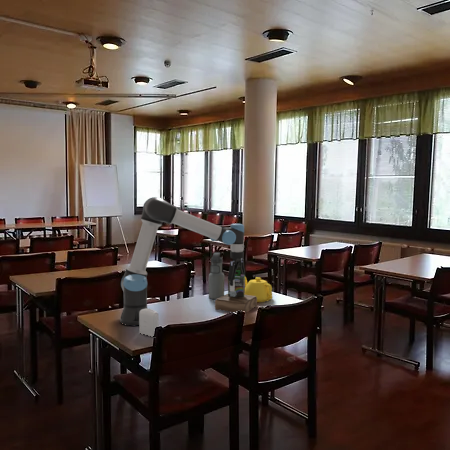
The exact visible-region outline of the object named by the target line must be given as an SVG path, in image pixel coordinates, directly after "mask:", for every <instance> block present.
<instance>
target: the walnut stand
mask: <svg viewBox="0 0 450 450" xmlns="http://www.w3.org/2000/svg"><path fill="white" fill-rule="evenodd" d="M214 300H215V301H214V310H217V311H222V312H224V311H225V312H229V313H235V312H236V311H238V310H242V311H245V312H246V313H248V312H249V310H250V309H251V310H253V309H254V307H255V308H257V307H258V302H257V297H256V296H251V295H244V297H228V293H226V294H224V296H221V297H219V298H217V299H214ZM256 306H257V307H256ZM252 308H253V309H252ZM251 310H250V311H251ZM247 311H248V312H247Z"/></svg>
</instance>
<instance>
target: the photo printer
mask: <svg viewBox="0 0 450 450" xmlns="http://www.w3.org/2000/svg"><path fill="white" fill-rule="evenodd" d="M159 321H160V319H159V313H158V311H156V310H154V309H152V308H148V307H147V308H146V309H142V310H140V312H139V326H138V327H139V328H138V329H139V331H138V333H139V334H140V333H141V334H140V335H143V334H145V335H144V336H146V335H148V336H147V337H150V336H151V338H154V337H153V336H154V331H155V328H156V327H160V324H159V323H160V322H159Z"/></svg>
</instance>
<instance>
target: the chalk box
mask: <svg viewBox="0 0 450 450" xmlns="http://www.w3.org/2000/svg"><path fill="white" fill-rule="evenodd" d="M245 277H246V273H245V274H241V271H240V270H238V269H237V270H236V274H235V277H234V280H235V291H234V292H233V291H230V280H228V279H227V294H228V297H244V295H245Z"/></svg>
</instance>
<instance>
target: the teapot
mask: <svg viewBox="0 0 450 450" xmlns="http://www.w3.org/2000/svg"><path fill="white" fill-rule="evenodd" d="M245 295H251V296H256V297H257V303H266V302H265V301H267V302H269V301H270V300H272V299H273V297H274V296H273V287H272V284H270V283H268V281H267V280H264V279H262V277H260V276H259V277H257V276H256V277H255V279H250V280H249V281H248V280H247V277H246V276H245Z"/></svg>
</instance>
